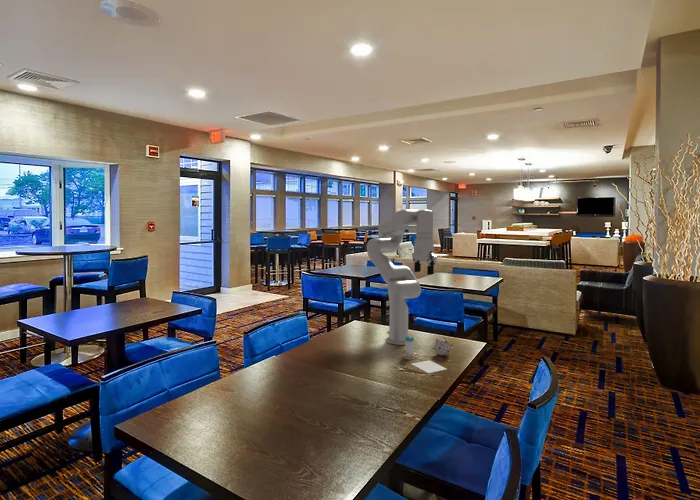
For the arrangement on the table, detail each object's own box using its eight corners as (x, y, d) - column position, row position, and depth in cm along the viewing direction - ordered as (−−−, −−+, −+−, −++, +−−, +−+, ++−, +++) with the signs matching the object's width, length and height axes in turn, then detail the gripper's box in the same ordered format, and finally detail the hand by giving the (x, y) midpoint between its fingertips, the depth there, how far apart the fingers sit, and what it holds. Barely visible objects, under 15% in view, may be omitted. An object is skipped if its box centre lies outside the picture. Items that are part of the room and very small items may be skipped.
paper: (410, 364, 180) (410, 363, 180) (429, 360, 185) (429, 360, 185) (428, 373, 170) (428, 373, 170) (447, 369, 174) (447, 368, 174)
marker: (403, 355, 190) (403, 336, 190) (410, 354, 192) (410, 335, 191) (408, 358, 187) (408, 338, 186) (414, 356, 189) (415, 337, 188)
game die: (445, 364, 191) (455, 351, 185) (428, 357, 191) (438, 344, 185) (446, 349, 199) (455, 336, 193) (429, 343, 198) (438, 330, 193)
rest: (399, 356, 191) (399, 355, 191) (410, 354, 194) (411, 353, 194) (407, 360, 185) (407, 359, 185) (419, 358, 188) (419, 357, 188)
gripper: (406, 235, 197) (406, 271, 199) (429, 237, 182) (429, 276, 183) (419, 235, 201) (418, 270, 202) (443, 237, 185) (442, 275, 187)
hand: (423, 273), depth 193 cm, fingers open, 9 cm apart
